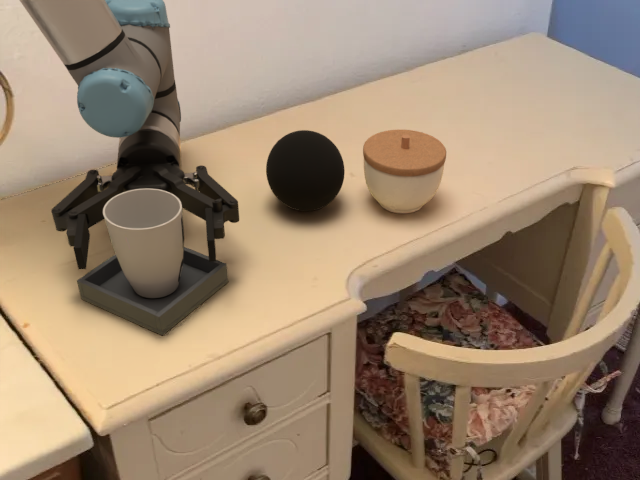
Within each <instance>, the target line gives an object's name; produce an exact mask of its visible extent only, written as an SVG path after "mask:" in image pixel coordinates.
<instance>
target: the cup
mask: <svg viewBox="0 0 640 480" xmlns="http://www.w3.org/2000/svg"><path fill="white" fill-rule="evenodd" d="M103 215H104V219H103V220H104V222H105V225H106V229H107V232H108V236H109V240H110V243H111V246H112V249H113V251H114V255H115V254H116V256H117V259H118V261H119V263H120V266H121V268H122V271H123V273H124V275H125V276H126V278H127V280H128V281H129V283H130V284H131V286H132V287H133V289H134V291H135V292H136V293H137V294H138V295H140V296H143V297H146V298H160V297H164V296H167V295H169V294H171V293H173V292H174V291H175V290H176V289H177V287H178V285H179V280H180V276H181V271H182V267H183V251H184V247H185V231H184V215H183V208H182V204H181V201H180V200H179V198H178V197H176V196H175V195H174V194H172V193H170V192H167V191H164V190H159V189H149V188H146V189H135V190H130V191H126V192H123V193H121V194H118V195H116V196H114V197H113V198H111V199H110V200H109V201H108V202H107V203H106V204H105V206H104V208H103Z"/></svg>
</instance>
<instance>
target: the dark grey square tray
mask: <svg viewBox="0 0 640 480" xmlns="http://www.w3.org/2000/svg"><path fill="white" fill-rule="evenodd" d="M228 283H229V273H228V264H227V262H223V261H221V260H218V259H216V261H213V262H209V255H207V254H204V253H201V252H199V251H196V250H194V249H191V248H189V247H186V246H184V251H183V267H182V271H181V276H180V280H179V285H178V287H177V289H176V291H175V292H174V293H173V294H171V295H170V296H168V297H165V298H161V299H144V298H141V297H139V296H138V295H136V294H135V292H134V291H133V287H132V286H131V284H130V283H129V281H128V280H127V278H126V276H125V275H124V273H123V271H122V268H121V266H120V263H119V261H118V259H117V256H116V254H115V253H114V254H113V255H112V256H109V258H107V259H106V260H105V261H103V262H102V263H100V264H98V265H97V266H96V267H94V268H93V269H91V270H90V271H88V272H87V273H85V274H84V275H82V276H81V277H79V278H78V279H77V280H76V284H77V288H78V291H79V296H80V299H81V300H82V301H84V302H87V303H89V304H92V305H93V306H96V307H98V308H100V309H101V310H102V309H103V310H105V311H106V312H109V313H111V314H114V315H116V316H117V317H120V318H123V319H125V320H127V321H129V322H131V323H134V324H136V325H138V326H140V327H142V328H144V329H147V330H149V331H151V332H153V333H156V334H158V335H160V336H164V335H166V333H168V332H169V331H171V329H173V327H175V326H176V325H178V323H180V322H181V321H182V320H183V319H185V318H186V317H188V315H189V314H191V313H192V312H193V311H194V310H196V309H197V308H198V307H200V306H201V305H202V304H203V303H205V301H207V300H208V299H209V298H210V297H212V296H213V295H214V294H215V293H217V292H219V290H221V289H222V288H223V287H224V286H225V285H227V284H228Z"/></svg>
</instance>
